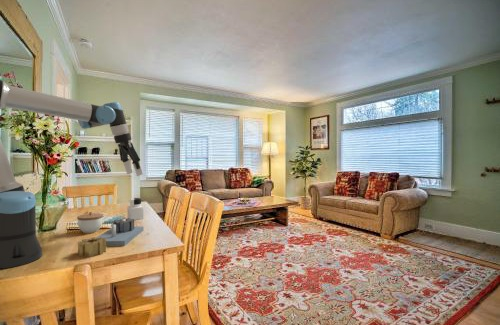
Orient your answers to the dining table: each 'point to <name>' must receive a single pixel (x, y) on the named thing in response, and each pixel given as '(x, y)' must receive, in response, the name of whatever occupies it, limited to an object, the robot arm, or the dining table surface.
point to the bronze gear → (91, 247)
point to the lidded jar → (90, 222)
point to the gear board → (120, 236)
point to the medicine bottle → (135, 209)
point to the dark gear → (124, 225)
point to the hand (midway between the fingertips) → (134, 174)
